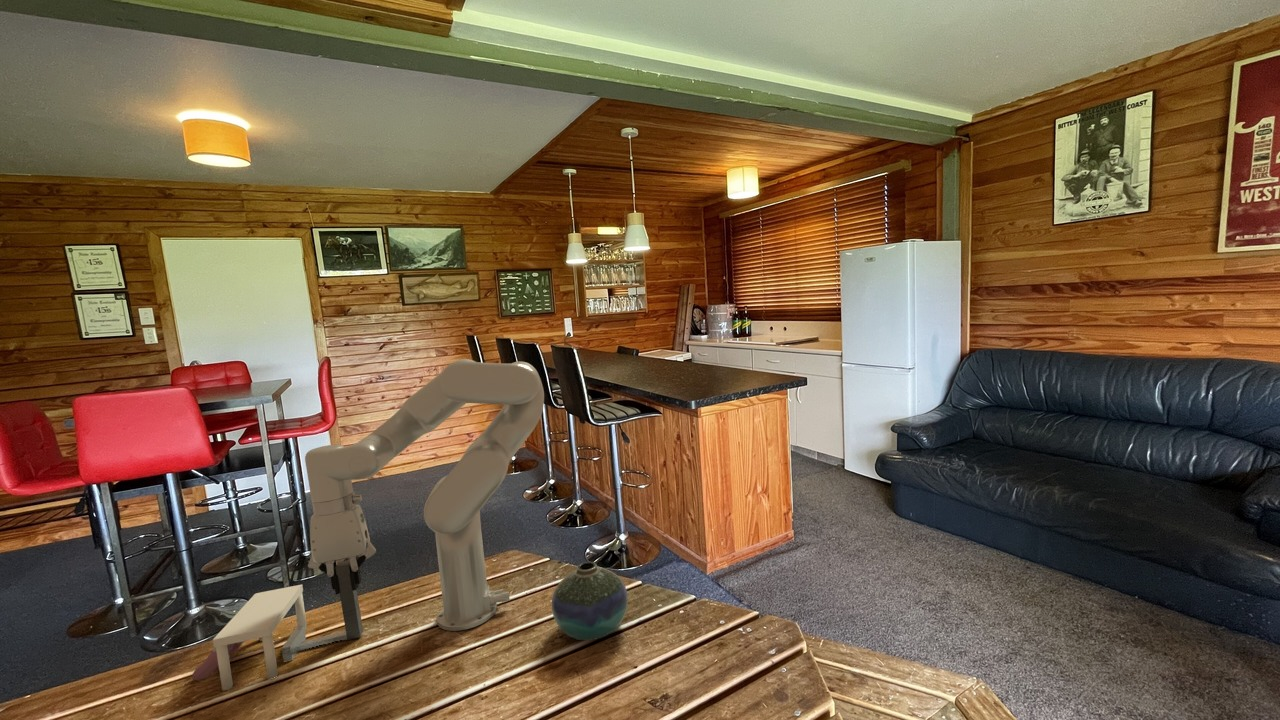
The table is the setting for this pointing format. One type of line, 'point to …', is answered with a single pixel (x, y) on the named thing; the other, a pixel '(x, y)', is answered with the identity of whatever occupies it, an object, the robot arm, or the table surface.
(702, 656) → the table surface
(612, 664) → the table surface
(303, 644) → the scraper
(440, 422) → the robot arm
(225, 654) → the low stool
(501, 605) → the table surface
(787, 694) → the table surface
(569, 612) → the vase
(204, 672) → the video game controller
